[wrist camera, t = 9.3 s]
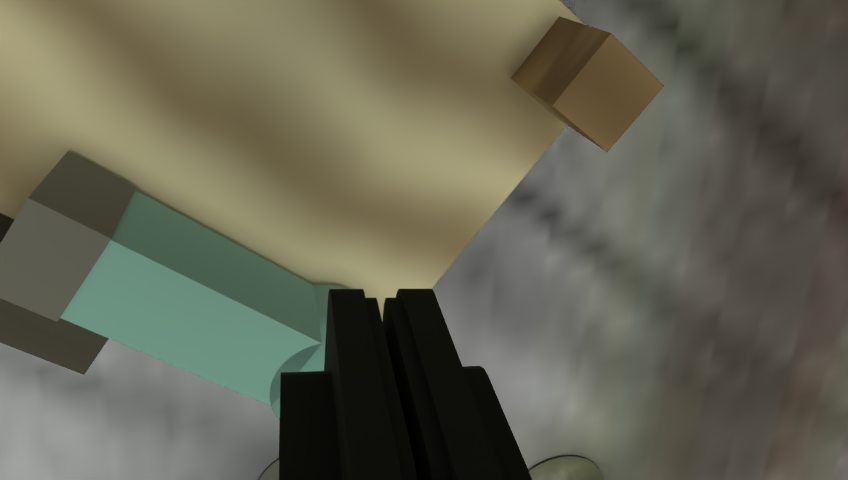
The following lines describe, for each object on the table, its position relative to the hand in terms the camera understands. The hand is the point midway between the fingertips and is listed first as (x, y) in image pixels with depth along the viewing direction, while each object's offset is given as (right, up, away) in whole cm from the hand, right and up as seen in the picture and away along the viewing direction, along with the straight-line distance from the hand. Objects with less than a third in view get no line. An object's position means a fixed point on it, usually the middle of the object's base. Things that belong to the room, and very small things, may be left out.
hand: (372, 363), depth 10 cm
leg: (-7, 0, +14) cm, 16 cm away
